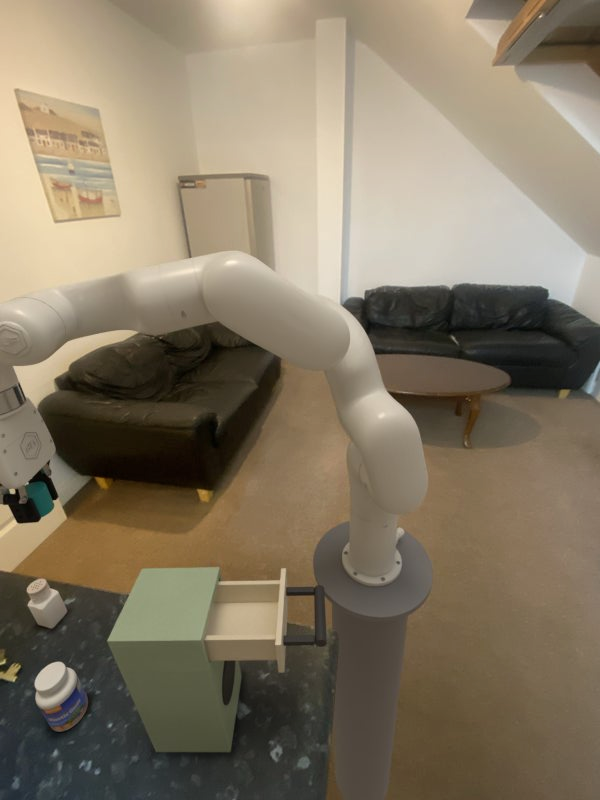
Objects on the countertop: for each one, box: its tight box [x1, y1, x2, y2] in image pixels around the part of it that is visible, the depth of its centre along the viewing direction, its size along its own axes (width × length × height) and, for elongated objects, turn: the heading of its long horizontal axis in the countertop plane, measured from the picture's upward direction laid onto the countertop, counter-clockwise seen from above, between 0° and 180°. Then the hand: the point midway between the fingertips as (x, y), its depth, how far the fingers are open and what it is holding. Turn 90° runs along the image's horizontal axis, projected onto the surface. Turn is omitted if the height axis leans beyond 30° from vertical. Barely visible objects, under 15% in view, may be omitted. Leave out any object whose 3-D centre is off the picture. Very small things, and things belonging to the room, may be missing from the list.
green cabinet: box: [106, 566, 242, 753], centre depth 52 cm, size 11×10×26 cm
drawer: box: [203, 567, 328, 674], centre depth 48 cm, size 16×10×5 cm, turn 89°
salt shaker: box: [26, 578, 68, 629], centre depth 71 cm, size 4×4×10 cm
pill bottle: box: [34, 661, 89, 732], centre depth 57 cm, size 5×5×10 cm
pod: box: [13, 482, 55, 519], centre depth 55 cm, size 4×4×4 cm
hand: (38, 509), depth 56 cm, fingers closed on pod, 4 cm apart
